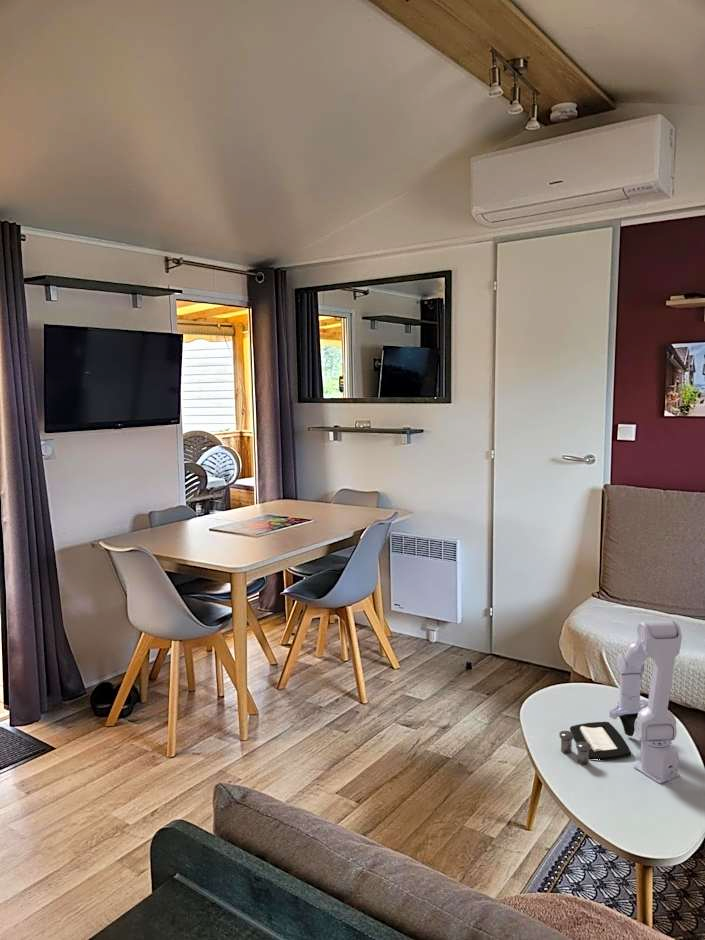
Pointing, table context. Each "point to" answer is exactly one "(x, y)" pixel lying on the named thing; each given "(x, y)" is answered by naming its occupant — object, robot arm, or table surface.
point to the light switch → (601, 740)
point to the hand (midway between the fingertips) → (629, 734)
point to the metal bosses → (581, 746)
